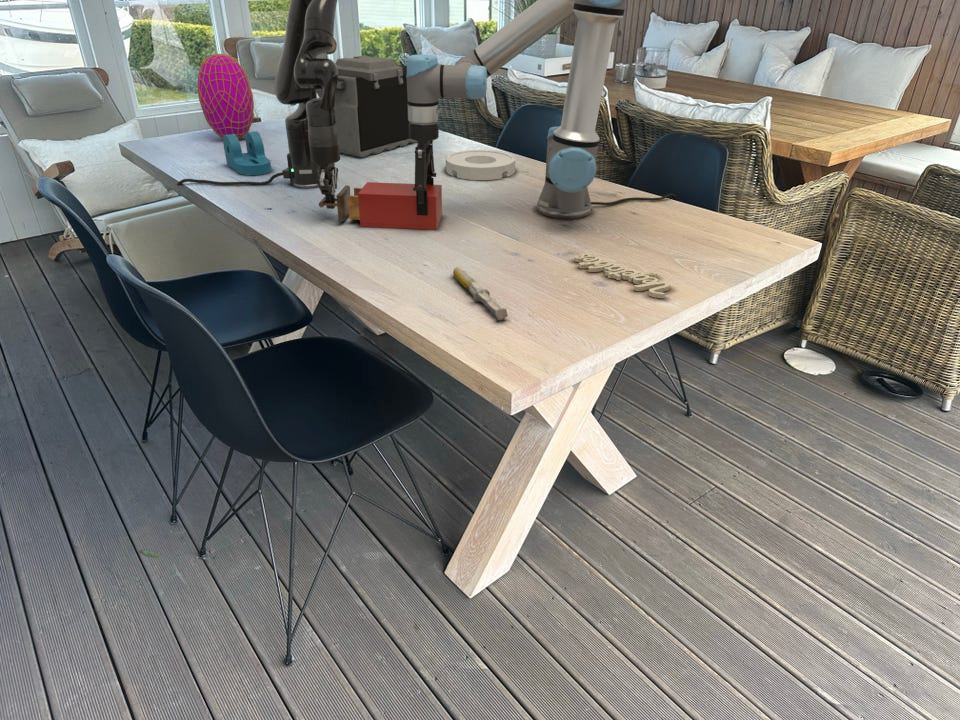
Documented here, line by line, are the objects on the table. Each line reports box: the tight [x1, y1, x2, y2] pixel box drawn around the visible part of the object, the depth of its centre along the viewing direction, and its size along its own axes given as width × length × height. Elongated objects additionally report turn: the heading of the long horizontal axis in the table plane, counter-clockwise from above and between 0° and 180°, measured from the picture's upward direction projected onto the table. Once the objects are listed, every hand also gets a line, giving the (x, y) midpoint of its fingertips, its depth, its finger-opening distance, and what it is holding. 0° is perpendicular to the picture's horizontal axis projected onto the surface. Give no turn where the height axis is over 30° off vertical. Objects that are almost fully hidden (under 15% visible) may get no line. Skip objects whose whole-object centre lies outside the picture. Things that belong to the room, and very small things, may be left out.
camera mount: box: [222, 131, 272, 176], centre depth 226 cm, size 18×10×10 cm, turn 35°
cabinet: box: [358, 181, 443, 231], centre depth 183 cm, size 20×11×9 cm, turn 85°
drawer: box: [318, 185, 363, 222], centre depth 184 cm, size 25×9×7 cm, turn 85°
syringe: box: [452, 266, 509, 321], centre depth 145 cm, size 25×4×3 cm, turn 21°
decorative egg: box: [197, 53, 255, 140], centre depth 258 cm, size 19×19×30 cm
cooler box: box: [316, 55, 418, 159], centre depth 250 cm, size 37×22×30 cm, turn 144°
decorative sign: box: [574, 252, 671, 299], centre depth 155 cm, size 26×1×10 cm
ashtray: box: [445, 149, 516, 181], centre depth 229 cm, size 23×23×4 cm
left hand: (331, 207), depth 185 cm, fingers closed
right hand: (425, 208), depth 183 cm, fingers closed on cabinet, 11 cm apart
